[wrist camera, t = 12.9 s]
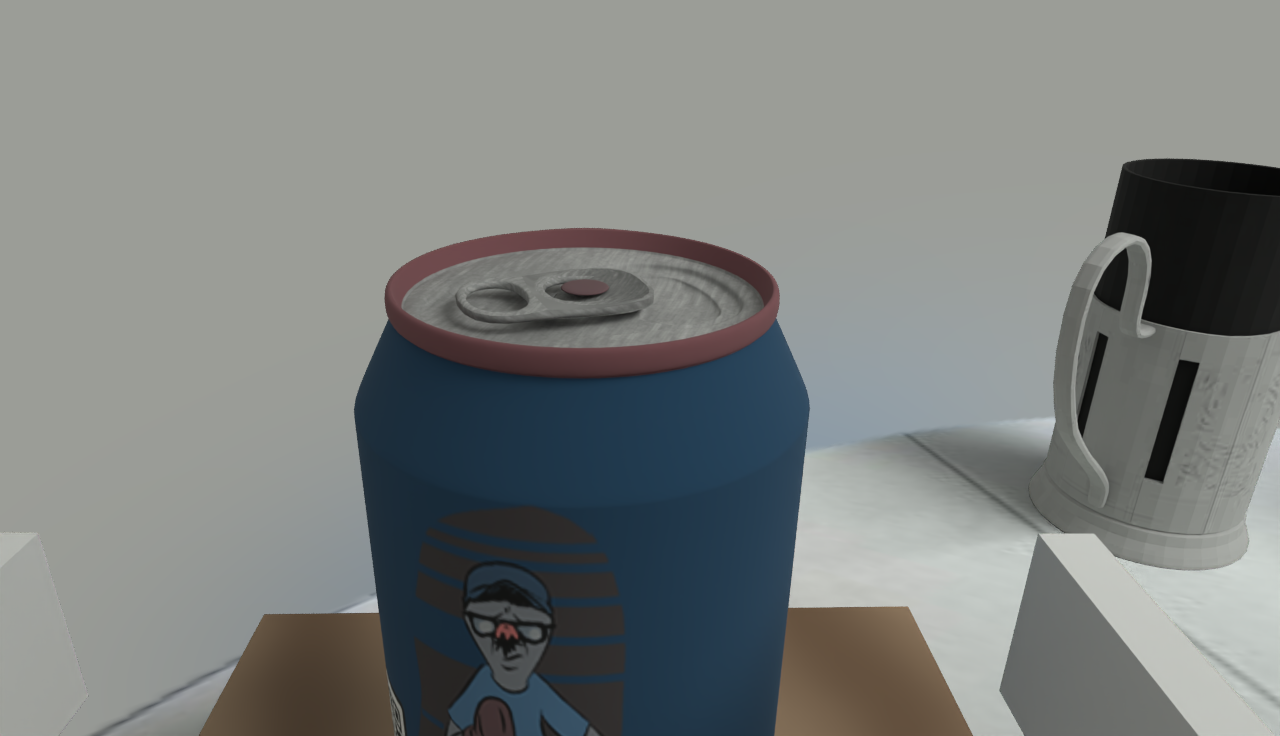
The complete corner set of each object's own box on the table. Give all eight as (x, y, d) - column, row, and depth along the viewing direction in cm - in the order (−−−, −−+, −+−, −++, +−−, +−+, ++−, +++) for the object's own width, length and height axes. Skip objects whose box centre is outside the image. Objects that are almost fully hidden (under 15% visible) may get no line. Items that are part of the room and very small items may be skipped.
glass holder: (1282, 524, 38) (1413, 184, 32) (1120, 654, 30) (1251, 236, 24) (1089, 445, 44) (1167, 149, 38) (915, 534, 36) (978, 181, 30)
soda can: (679, 680, 22) (703, 209, 17) (826, 944, 16) (928, 331, 11) (395, 754, 19) (328, 234, 14) (441, 1097, 13) (353, 406, 9)
